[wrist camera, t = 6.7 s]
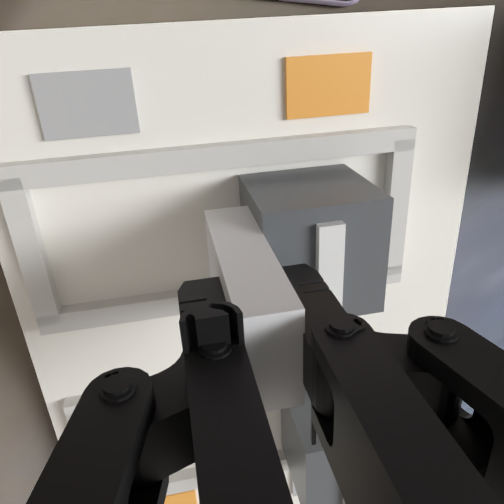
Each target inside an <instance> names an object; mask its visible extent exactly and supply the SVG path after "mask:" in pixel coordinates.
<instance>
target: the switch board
mask: <svg viewBox="0 0 504 504" xmlns="http://www.w3.org/2000/svg"><path fill="white" fill-rule="evenodd" d="M494 9H495V5H492V6H473V7H454V8H435V9H416V10H397V11H378V12H359V13H340V14H321V15H302V16H282V17H263V18H244V19H225V20H206V21H187V22H168V23H149V24H130V25H111V26H92V27H73V28H54V29H35V30H15V31H0V263H1V266H2V269H3V272H4V275H5V278H6V281H7V284H8V288H9V291H10V294H11V297H12V300H13V303H14V306H15V309H16V312H17V315H18V318H19V322H20V325H21V328H22V331H23V334H24V337H25V340H26V343H27V346H28V349H29V352H30V356H31V359H32V362H33V365H34V368H35V371H36V374H37V377H38V380H39V383H40V386H41V390H42V393H43V396H44V399H45V402H46V405H47V408H48V411H49V414H50V417H51V421H52V424H53V427H54V430H55V433H56V436H57V439H58V440H59V438H60V436H61V434H62V432H63V430H64V429H65V427H66V425H67V423H68V421H69V419H70V417H71V415H72V413H73V411H74V409H75V407H76V405H77V403H78V401H79V399H80V397H81V395H82V393H83V392H84V390H85V388H86V387H87V386H88V385H89V383H90V382H91V381H92V380H93V379H95V378H96V377H98V376H99V375H100V374H102V373H104V372H107V371H109V370H112V369H115V368H122V367H133V368H139V369H141V370H143V371H145V372H147V373H148V374H149V376H152V375H154V374H157V373H159V372H161V371H163V370H165V369H167V368H169V367H170V366H171V365H173V364H174V363H175V362H176V361H177V360H178V359H179V358H180V356H181V354H182V351H183V348H182V341H181V334H180V327H179V319H180V311H179V302H178V293H177V291H178V290H179V288H180V287H181V285H182V283H183V282H184V281H190V280H197V279H204V278H211V277H210V267H209V257H208V247H207V237H206V227H205V216H204V210H213V209H222V208H230V207H239V206H240V193H239V177H238V175H241V174H251V173H260V172H270V171H279V170H289V169H299V168H308V167H318V166H327V165H337V164H345V165H347V166H348V167H350V168H351V169H352V170H354V171H355V172H357V173H358V174H360V175H361V176H363V177H364V178H365V179H367V180H368V181H370V182H371V183H373V184H374V185H376V186H377V187H378V188H380V189H381V190H383V191H384V192H386V193H387V194H388V195H390V196H391V197H393V198H394V204H393V215H392V226H391V237H390V248H389V259H388V270H387V281H386V292H385V303H384V312H379V313H373V314H366V315H360V316H359V317H361V318H363V319H364V320H365V321H366V322H367V323H369V324H370V326H371V327H372V328H373V330H374V331H375V332H381V333H394V334H408V328H409V326H410V324H411V322H412V321H414V320H416V319H417V318H420V317H425V316H442V317H445V314H446V308H447V302H448V295H449V289H450V283H451V277H452V271H453V264H454V258H455V252H456V246H457V239H458V233H459V227H460V221H461V215H462V208H463V202H464V196H465V190H466V183H467V177H468V171H469V165H470V158H471V152H472V146H473V140H474V134H475V127H476V121H477V115H478V109H479V102H480V96H481V90H482V84H483V78H484V71H485V65H486V59H487V53H488V46H489V40H490V34H491V28H492V22H493V15H494ZM266 415H267V419H268V422H269V425H270V428H271V432H272V435H273V438H274V441H275V445H276V448H277V451H278V455H279V458H280V461H281V464H282V468H283V471H284V474H285V477H286V481H287V484H288V487H289V490H290V494H291V497H292V500H293V504H300V502H299V499H298V495H297V492H296V489H295V486H294V483H293V480H292V477H291V473H290V470H289V467H288V464H287V461H286V458H285V454H284V451H283V448H282V436H281V409H279V410H274V411H269V412H266ZM164 504H199V494H198V485H197V476H196V467H195V463H193V464H191V465H189V466H187V467H185V468H183V469H181V470H179V471H178V472H176V473H174V474H172V475H170V476H169V484H168V489H167V493H166V498H165V502H164Z"/></svg>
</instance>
